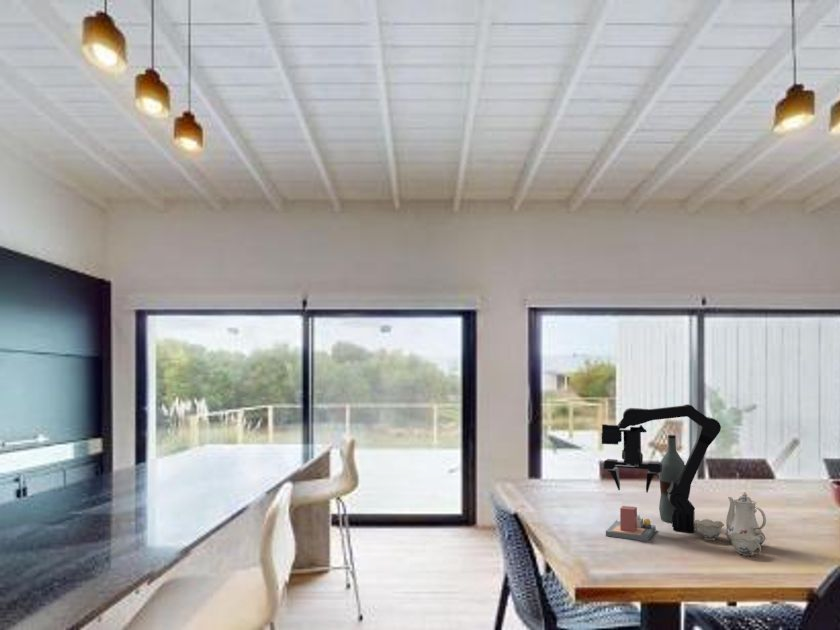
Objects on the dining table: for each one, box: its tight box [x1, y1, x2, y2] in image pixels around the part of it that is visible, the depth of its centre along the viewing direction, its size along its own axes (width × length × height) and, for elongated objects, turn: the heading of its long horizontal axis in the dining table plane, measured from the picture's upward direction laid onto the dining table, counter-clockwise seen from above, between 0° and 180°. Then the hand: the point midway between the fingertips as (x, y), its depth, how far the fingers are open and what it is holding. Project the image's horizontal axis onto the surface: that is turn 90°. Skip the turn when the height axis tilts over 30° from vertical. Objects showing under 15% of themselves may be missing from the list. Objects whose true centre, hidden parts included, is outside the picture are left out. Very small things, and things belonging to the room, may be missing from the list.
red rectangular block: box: [619, 505, 638, 532], centre depth 223 cm, size 4×4×7 cm
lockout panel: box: [605, 516, 657, 542], centre depth 227 cm, size 13×16×4 cm
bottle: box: [658, 434, 686, 524], centre depth 246 cm, size 9×9×30 cm
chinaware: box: [695, 492, 767, 556], centre depth 212 cm, size 28×17×17 cm, turn 16°
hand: (633, 491), depth 236 cm, fingers open, 9 cm apart
